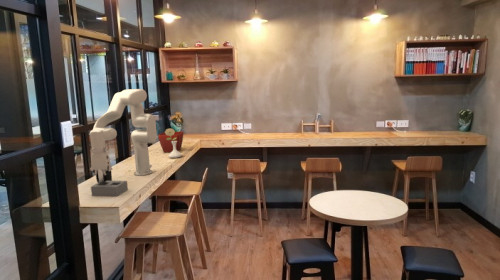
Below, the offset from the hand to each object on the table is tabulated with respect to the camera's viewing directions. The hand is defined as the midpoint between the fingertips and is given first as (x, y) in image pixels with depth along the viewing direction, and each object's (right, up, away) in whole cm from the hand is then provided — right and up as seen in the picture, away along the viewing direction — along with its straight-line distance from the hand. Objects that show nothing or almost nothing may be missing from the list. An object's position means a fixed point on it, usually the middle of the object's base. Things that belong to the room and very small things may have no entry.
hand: (102, 180), depth 202 cm
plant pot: (+16, +14, +113) cm, 115 cm away
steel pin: (0, -2, 0) cm, 2 cm away
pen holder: (-7, -4, +20) cm, 21 cm away
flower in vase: (+23, +9, +87) cm, 91 cm away
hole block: (+4, -7, +1) cm, 8 cm away
